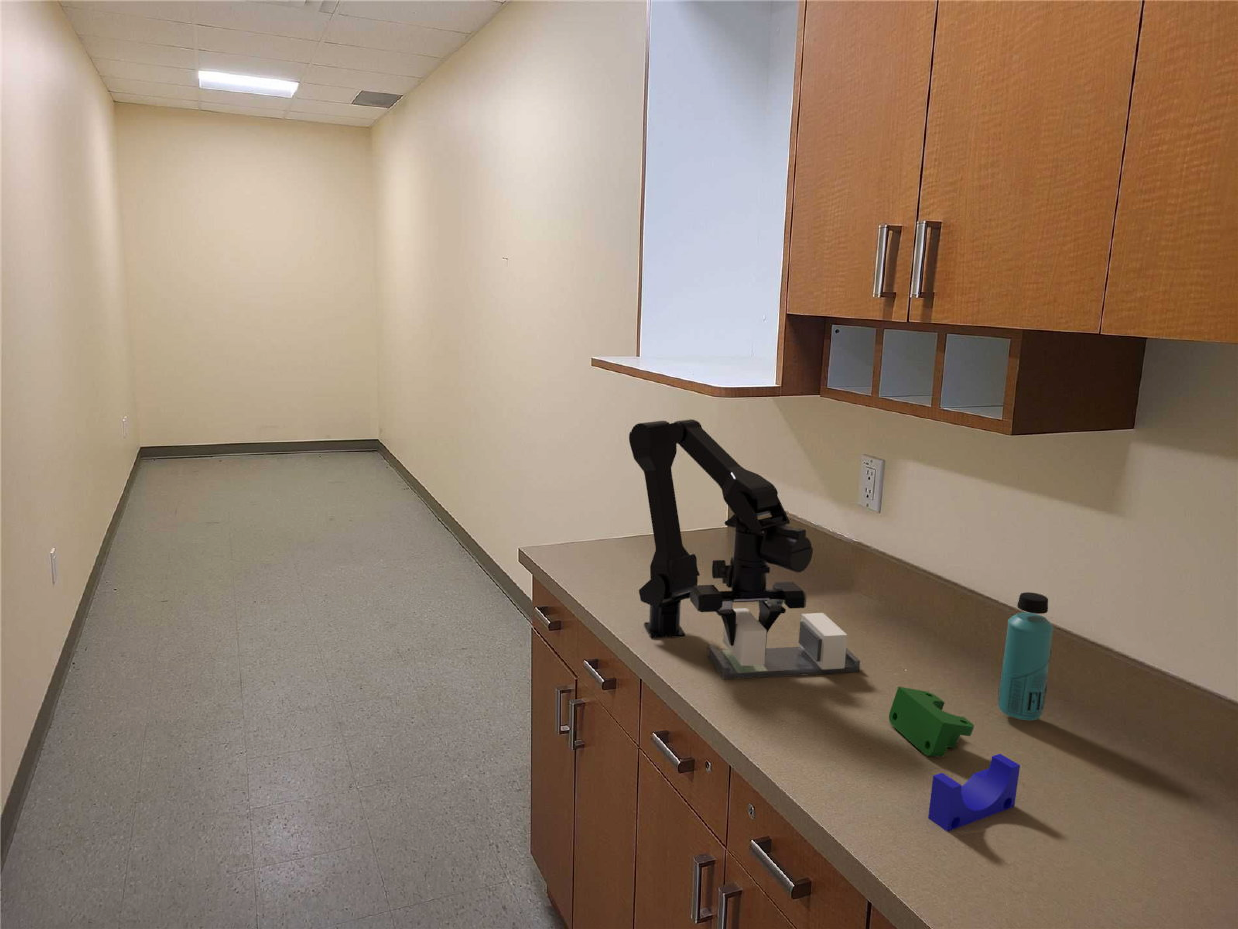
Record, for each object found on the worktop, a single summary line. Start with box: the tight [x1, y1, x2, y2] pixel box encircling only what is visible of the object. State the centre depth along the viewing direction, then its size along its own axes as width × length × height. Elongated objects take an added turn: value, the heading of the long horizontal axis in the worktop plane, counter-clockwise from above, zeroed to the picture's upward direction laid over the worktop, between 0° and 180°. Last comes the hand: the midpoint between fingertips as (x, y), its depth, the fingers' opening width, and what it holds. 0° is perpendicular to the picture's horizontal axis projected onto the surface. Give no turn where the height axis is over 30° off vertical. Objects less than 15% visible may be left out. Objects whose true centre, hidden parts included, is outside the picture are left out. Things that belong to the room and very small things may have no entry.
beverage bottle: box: [996, 591, 1054, 721], centre depth 133 cm, size 6×7×20 cm
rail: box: [707, 645, 861, 680], centre depth 152 cm, size 9×24×2 cm, turn 101°
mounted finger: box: [798, 612, 848, 670], centre depth 152 cm, size 10×5×6 cm, turn 11°
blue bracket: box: [927, 753, 1021, 832], centre depth 111 cm, size 12×4×6 cm, turn 118°
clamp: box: [888, 686, 975, 758], centre depth 128 cm, size 12×6×9 cm, turn 9°
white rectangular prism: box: [722, 607, 768, 666], centre depth 150 cm, size 4×10×6 cm, turn 11°
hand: (745, 644), depth 150 cm, fingers closed on white rectangular prism, 4 cm apart
